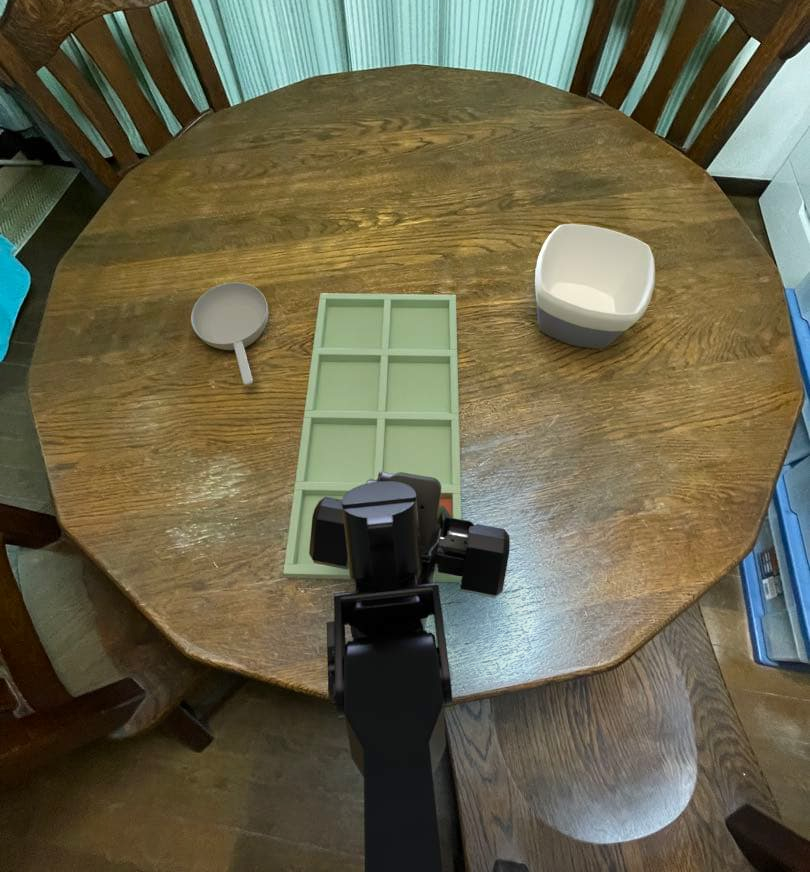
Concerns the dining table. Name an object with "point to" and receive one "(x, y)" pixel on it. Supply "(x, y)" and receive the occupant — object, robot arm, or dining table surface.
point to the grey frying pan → (231, 320)
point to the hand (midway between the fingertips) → (418, 505)
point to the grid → (376, 408)
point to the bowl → (592, 284)
